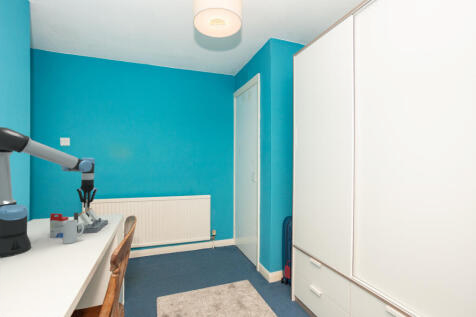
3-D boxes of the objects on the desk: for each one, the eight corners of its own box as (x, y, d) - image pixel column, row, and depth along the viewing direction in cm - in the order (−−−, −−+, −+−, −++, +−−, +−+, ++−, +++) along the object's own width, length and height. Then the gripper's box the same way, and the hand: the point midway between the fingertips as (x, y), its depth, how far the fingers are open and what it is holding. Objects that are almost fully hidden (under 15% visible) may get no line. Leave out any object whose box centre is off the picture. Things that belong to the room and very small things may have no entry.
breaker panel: (96, 232, 149) (97, 224, 149) (79, 233, 147) (79, 225, 147) (107, 223, 169) (107, 216, 169) (92, 224, 167) (93, 217, 167)
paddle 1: (90, 224, 150) (80, 212, 149) (87, 226, 150) (78, 214, 148) (93, 222, 154) (83, 211, 153) (90, 224, 154) (81, 213, 153)
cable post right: (88, 223, 168) (88, 207, 169) (84, 223, 168) (85, 207, 168) (94, 220, 179) (94, 204, 179) (90, 220, 178) (91, 204, 179)
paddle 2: (96, 220, 161) (88, 208, 160) (94, 222, 160) (85, 210, 159) (99, 218, 165) (91, 207, 164) (96, 220, 165) (88, 209, 164)
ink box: (68, 235, 143) (69, 212, 143) (61, 237, 138) (62, 213, 138) (56, 234, 144) (56, 211, 144) (49, 237, 139) (49, 213, 139)
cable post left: (73, 233, 146) (73, 215, 146) (69, 233, 146) (69, 215, 146) (78, 230, 153) (79, 212, 153) (74, 230, 153) (75, 212, 153)
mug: (61, 245, 127) (61, 223, 127) (63, 241, 133) (64, 220, 133) (83, 242, 132) (83, 221, 132) (84, 238, 138) (84, 218, 138)
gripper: (99, 178, 167) (98, 210, 167) (80, 178, 164) (78, 211, 164) (95, 179, 159) (94, 213, 159) (75, 179, 156) (73, 213, 156)
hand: (86, 212), depth 161 cm, fingers closed
